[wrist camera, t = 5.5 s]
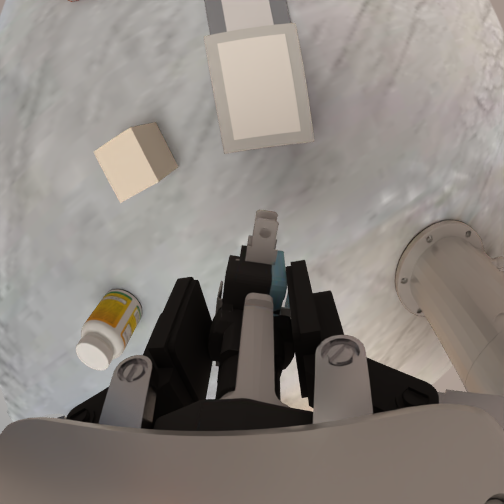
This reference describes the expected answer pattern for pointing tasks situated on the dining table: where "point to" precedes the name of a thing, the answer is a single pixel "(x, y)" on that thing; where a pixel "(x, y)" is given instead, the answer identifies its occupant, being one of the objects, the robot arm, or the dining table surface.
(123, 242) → the dining table surface
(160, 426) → the push button
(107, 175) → the block
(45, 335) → the dining table surface
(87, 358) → the supplement bottle
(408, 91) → the dining table surface
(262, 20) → the board
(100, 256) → the dining table surface
